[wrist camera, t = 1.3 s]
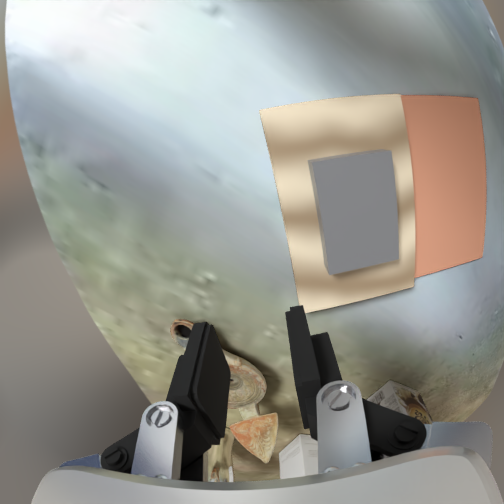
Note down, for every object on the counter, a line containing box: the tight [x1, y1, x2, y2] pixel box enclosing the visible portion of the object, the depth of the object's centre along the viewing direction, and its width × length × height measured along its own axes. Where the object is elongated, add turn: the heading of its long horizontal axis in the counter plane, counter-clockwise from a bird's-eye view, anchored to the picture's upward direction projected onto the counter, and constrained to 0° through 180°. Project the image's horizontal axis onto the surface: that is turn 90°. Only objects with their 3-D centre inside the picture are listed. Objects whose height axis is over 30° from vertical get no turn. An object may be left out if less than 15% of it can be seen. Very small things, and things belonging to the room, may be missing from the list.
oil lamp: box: [170, 319, 278, 463], centre depth 30 cm, size 9×21×10 cm, turn 28°
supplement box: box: [279, 434, 318, 479], centre depth 37 cm, size 9×9×15 cm
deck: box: [259, 94, 415, 313], centre depth 25 cm, size 20×13×2 cm, turn 13°
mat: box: [400, 95, 486, 278], centre depth 25 cm, size 20×12×1 cm, turn 13°
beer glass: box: [208, 428, 235, 482], centre depth 35 cm, size 7×7×15 cm
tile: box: [308, 149, 399, 275], centre depth 24 cm, size 10×7×2 cm
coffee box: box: [367, 380, 433, 424], centre depth 31 cm, size 9×6×16 cm
